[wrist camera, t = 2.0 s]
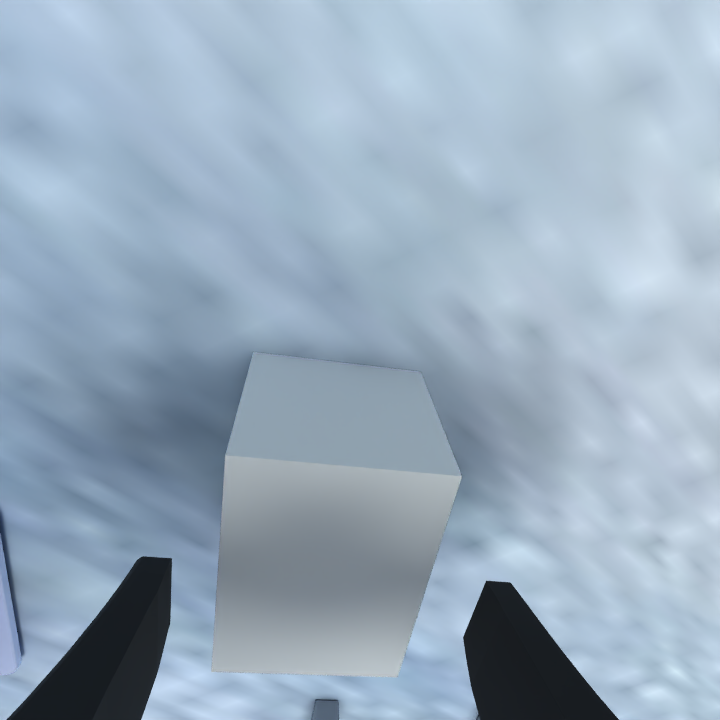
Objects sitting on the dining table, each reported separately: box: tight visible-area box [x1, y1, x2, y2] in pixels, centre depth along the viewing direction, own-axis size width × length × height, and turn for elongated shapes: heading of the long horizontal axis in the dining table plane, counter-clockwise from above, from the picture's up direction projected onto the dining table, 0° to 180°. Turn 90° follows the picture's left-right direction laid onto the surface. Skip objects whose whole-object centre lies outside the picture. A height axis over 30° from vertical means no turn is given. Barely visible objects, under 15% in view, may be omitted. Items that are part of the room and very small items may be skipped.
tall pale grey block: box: [211, 352, 462, 677], centre depth 14 cm, size 5×7×5 cm
